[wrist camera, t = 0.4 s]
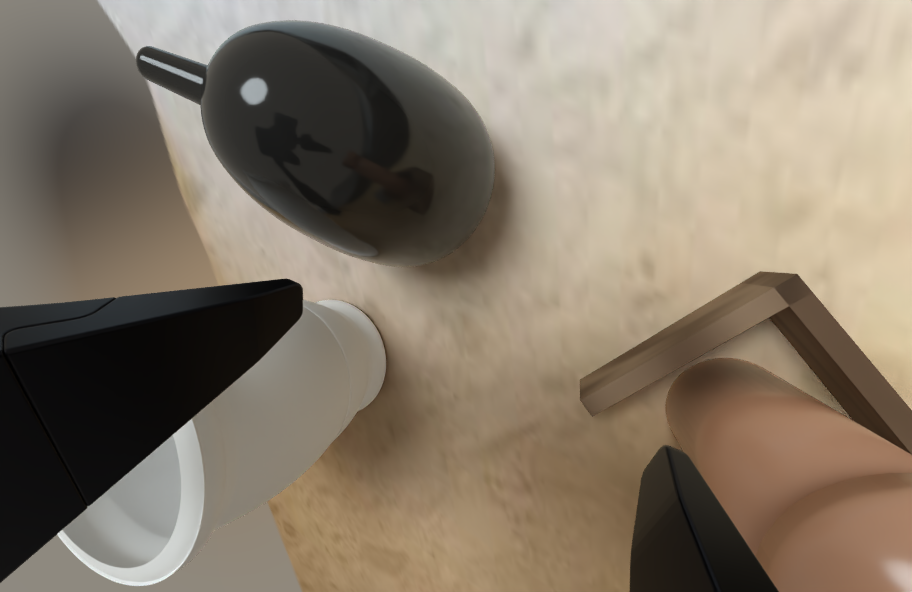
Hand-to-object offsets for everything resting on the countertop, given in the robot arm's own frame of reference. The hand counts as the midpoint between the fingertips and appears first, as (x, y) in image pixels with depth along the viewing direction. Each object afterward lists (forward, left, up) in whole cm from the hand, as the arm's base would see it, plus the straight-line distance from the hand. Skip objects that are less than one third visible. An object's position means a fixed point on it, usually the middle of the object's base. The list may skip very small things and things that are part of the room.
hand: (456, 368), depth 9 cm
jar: (-14, +5, -16) cm, 22 cm away
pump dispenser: (-1, +10, -16) cm, 19 cm away
